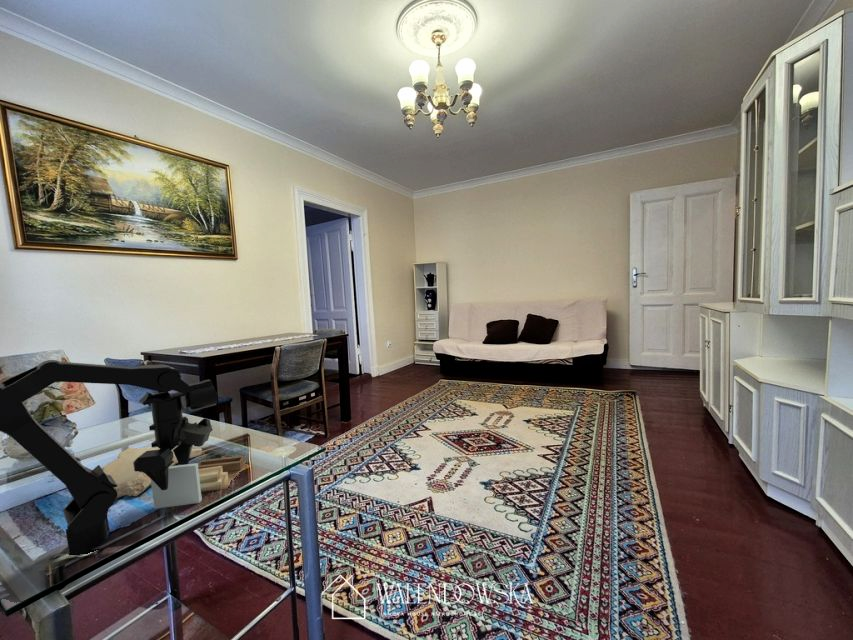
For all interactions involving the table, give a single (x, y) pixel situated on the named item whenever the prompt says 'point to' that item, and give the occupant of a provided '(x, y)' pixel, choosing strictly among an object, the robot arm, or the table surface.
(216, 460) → the rack
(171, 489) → the panel
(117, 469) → the tan curved tapered piece
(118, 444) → the table surface
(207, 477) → the offcut upper
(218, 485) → the offcut lower
